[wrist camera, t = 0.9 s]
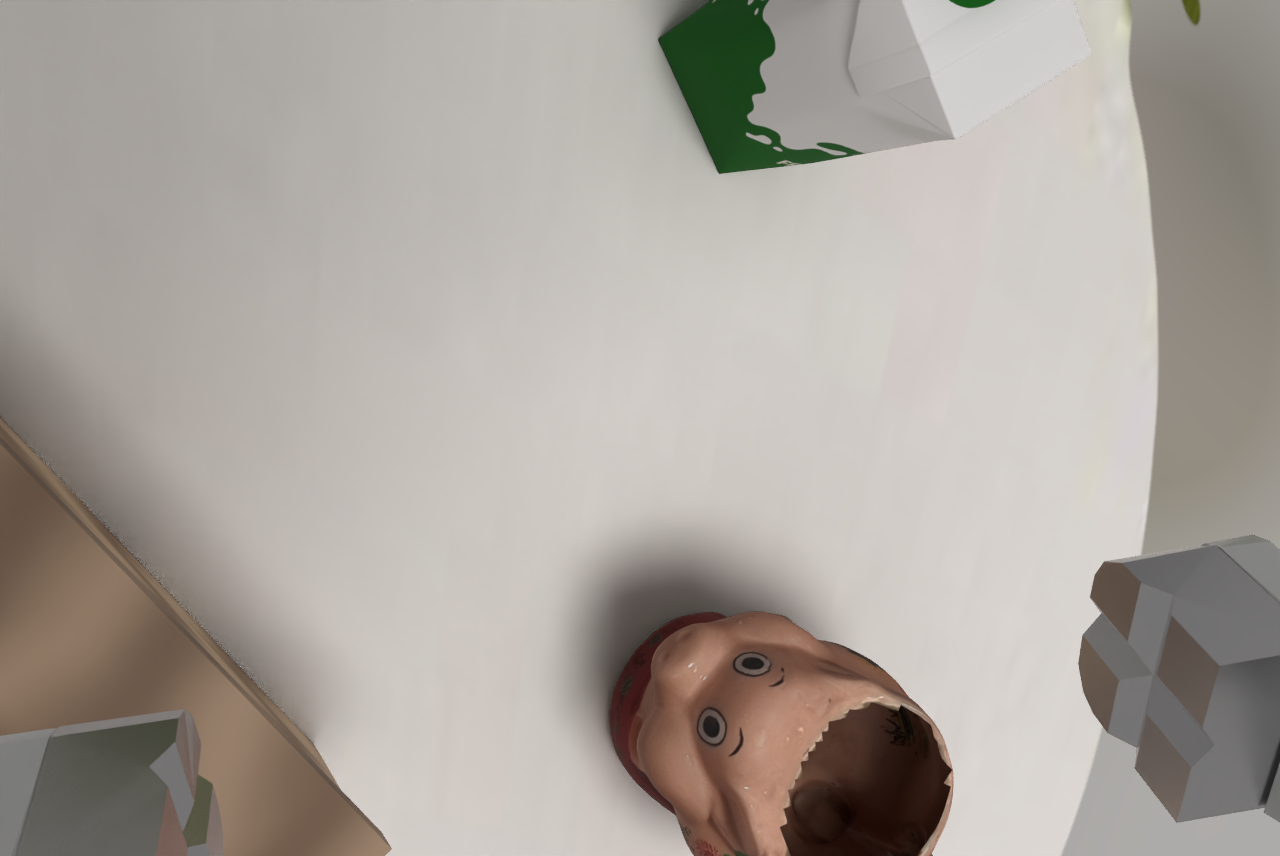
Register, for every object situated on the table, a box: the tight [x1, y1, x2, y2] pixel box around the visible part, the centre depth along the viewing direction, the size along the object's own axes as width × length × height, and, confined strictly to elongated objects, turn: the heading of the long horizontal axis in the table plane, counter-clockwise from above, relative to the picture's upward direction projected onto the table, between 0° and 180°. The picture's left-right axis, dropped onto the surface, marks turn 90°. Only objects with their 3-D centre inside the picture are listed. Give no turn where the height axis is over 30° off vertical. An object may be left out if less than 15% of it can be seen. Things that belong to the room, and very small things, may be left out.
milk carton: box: [659, 0, 1091, 174], centre depth 52 cm, size 9×9×20 cm
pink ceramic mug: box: [610, 612, 953, 856], centre depth 57 cm, size 20×12×14 cm, turn 51°
